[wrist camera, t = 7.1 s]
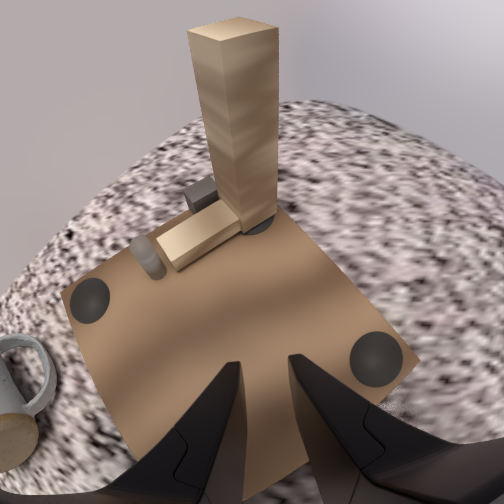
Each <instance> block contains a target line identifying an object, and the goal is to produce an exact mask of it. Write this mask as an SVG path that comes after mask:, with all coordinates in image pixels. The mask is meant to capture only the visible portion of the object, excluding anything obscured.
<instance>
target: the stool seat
mask: <svg viewBox="0 0 504 504" xmlns="http://www.w3.org/2000/svg"><path fill="white" fill-rule="evenodd" d="M183 193H184V196H185V198H186V201H187V204H188V207H189V210H187V211H185V212H184V213H182V214H180V215H178V216H177V217H175V218H173V219H172V220H170V221H168V222H167V223H165V224H163V225H162V226H160V227H158V228H157V229H155V230H154V231H152V232H150V233H149V234H147V235H146V236H144V235H139V236H137V237H135V238H134V239H133V240H132V241H131V242H130V245H129V246H128V247H126V248H125V249H123V250H122V251H120V252H119V253H117V254H116V255H114V256H113V257H111V258H110V259H108V260H107V261H105V262H104V263H102V264H101V265H99V266H98V267H96V268H95V269H93V270H92V271H90V272H89V273H87V274H86V275H84V276H83V277H81V278H80V279H78V280H77V281H76V282H74V283H73V284H71V285H70V286H68V287H67V288H66V289H64V290H63V291H61V292H60V293H61V297H62V300H63V303H64V306H65V309H66V312H67V315H68V318H69V321H70V324H71V327H72V330H73V333H74V335H75V338H76V341H77V343H78V346H79V348H80V351H81V353H82V356H83V358H84V361H85V363H86V365H87V368H88V370H89V372H90V375H91V377H92V379H93V381H94V383H95V386H96V388H97V390H98V392H99V394H100V396H101V398H102V400H103V402H104V404H105V406H106V408H107V410H108V412H109V414H110V416H111V418H112V419H113V421H114V423H115V425H116V427H117V429H118V430H119V432H120V434H121V436H122V437H123V439H124V441H125V442H126V444H127V446H128V447H129V449H130V451H131V452H132V454H133V455H134V457H135V459H136V460H137V461H139V460H140V459H141V458H142V457H143V456H144V455H146V454H147V453H148V452H149V451H150V450H151V449H152V448H153V447H154V446H155V445H156V444H157V443H158V442H159V441H160V440H161V439H162V438H163V437H164V436H165V435H166V434H167V433H168V431H169V430H170V429H171V428H172V427H174V425H175V423H176V422H177V421H178V420H179V419H180V418H181V417H182V415H183V414H184V413H185V412H186V411H187V410H188V408H189V407H190V406H191V405H192V404H193V402H194V401H195V400H196V399H197V398H198V397H199V395H200V394H201V393H202V392H203V391H204V389H205V388H206V387H207V386H208V384H209V383H210V382H211V381H212V380H213V378H214V377H215V376H216V375H217V374H218V372H219V371H220V370H221V369H222V367H223V366H224V365H225V364H226V363H227V362H232V361H240V362H241V366H242V372H243V378H244V385H245V397H246V411H247V426H248V431H247V447H246V461H245V474H244V487H243V500H242V502H243V501H245V500H247V499H249V498H251V497H252V496H254V495H256V494H258V493H260V492H261V491H263V490H265V489H266V488H268V487H270V486H271V485H273V484H275V483H276V482H278V481H279V480H281V479H283V478H284V477H286V476H287V475H289V474H290V473H292V472H293V471H295V470H296V469H298V468H299V467H301V466H302V465H304V464H305V463H307V462H308V461H309V458H308V456H307V453H306V450H305V447H304V444H303V441H302V438H301V435H300V432H299V429H298V425H297V422H296V417H295V412H294V406H293V400H292V395H291V389H290V383H289V374H288V356H289V355H293V354H299V353H301V354H303V355H304V356H306V357H307V358H308V359H310V360H311V361H313V362H314V363H315V364H317V365H318V366H320V367H321V368H322V369H324V370H325V371H327V372H328V373H329V374H331V375H332V376H334V377H335V378H336V379H338V380H339V381H341V382H342V383H344V384H345V385H347V386H348V387H349V388H351V389H352V390H354V391H355V392H357V393H358V394H360V395H361V396H363V397H364V398H366V399H367V400H369V401H370V402H371V403H373V404H375V405H376V406H377V405H378V404H379V403H380V402H381V401H382V400H383V399H384V398H385V397H386V396H387V395H388V394H389V393H390V392H391V391H392V390H393V389H394V388H395V387H396V386H397V385H398V384H399V383H400V382H401V381H402V380H403V379H404V378H405V377H406V376H407V375H408V374H409V373H410V372H411V371H412V369H413V368H414V367H415V366H416V365H417V364H418V363H419V362H420V359H419V358H418V357H417V356H416V355H415V353H414V352H413V351H412V350H411V349H410V347H409V346H408V345H407V344H406V343H405V342H404V340H403V339H402V338H401V337H400V336H399V334H398V333H397V332H396V331H395V330H394V329H393V328H392V326H391V325H390V324H389V323H388V322H387V321H386V319H385V318H384V317H383V316H382V315H381V314H380V313H379V312H378V310H377V309H376V308H375V307H374V306H373V305H372V304H371V303H370V301H369V300H368V299H367V298H366V297H365V296H364V295H363V294H362V293H361V291H360V290H359V289H358V288H357V287H356V286H355V285H354V284H353V283H352V282H351V280H350V279H349V278H348V277H347V276H346V275H345V274H344V273H343V272H342V271H341V270H340V269H339V267H338V266H337V265H336V264H335V263H334V262H333V261H332V260H331V259H330V258H329V257H328V256H327V255H326V254H325V253H324V252H323V251H322V249H321V248H320V247H319V246H318V245H317V244H316V243H315V242H314V241H313V240H312V239H311V238H310V237H309V236H308V235H307V234H306V233H305V232H304V231H303V230H302V229H301V228H300V227H299V226H298V225H297V224H296V223H295V222H294V221H293V220H292V219H291V218H290V217H289V216H288V215H287V213H286V212H285V211H284V210H283V209H282V208H281V207H280V206H279V205H278V204H277V213H275V214H274V215H272V216H271V217H269V218H267V219H266V220H264V221H263V222H261V223H259V224H258V225H256V226H255V227H253V228H252V229H250V230H248V231H247V232H245V233H243V232H242V231H239V232H237V233H236V234H234V235H233V236H231V237H230V238H228V239H226V240H225V241H223V242H222V243H220V244H219V245H217V246H216V247H214V248H212V249H211V250H209V251H208V252H206V253H205V254H203V255H202V256H200V257H198V258H197V259H195V260H194V261H192V262H191V263H189V264H188V265H186V266H185V267H183V268H181V269H180V270H178V271H176V270H175V268H174V267H173V265H172V264H171V262H170V260H169V259H168V257H167V256H166V254H165V253H164V251H163V250H162V248H161V246H160V244H159V243H158V241H157V239H156V238H158V237H159V236H161V235H162V234H164V233H166V232H167V231H169V230H170V229H172V228H174V227H175V226H177V225H178V224H180V223H182V222H183V221H185V220H187V219H188V218H190V217H191V216H193V215H195V214H196V213H198V212H200V211H201V210H203V209H205V208H206V207H208V206H210V205H211V204H213V203H215V202H217V201H218V200H219V196H218V191H217V187H216V182H215V181H214V180H213V179H212V178H211V177H210V176H207V177H205V178H204V179H202V180H200V181H198V182H196V183H194V184H193V185H191V186H189V187H187V188H185V189H184V190H183Z"/></svg>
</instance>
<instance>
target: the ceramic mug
mask: <svg viewBox="0 0 504 504" xmlns="http://www.w3.org/2000/svg"><path fill="white" fill-rule="evenodd" d="M20 346H29V347H33V348H34V349H35V350H36V351H37V353H38V354H39V356H40V358H41V360H42V362H43V371H44V372H45V382H44V384H43V386H42V389H41V390H40V392H39V393H38V394H37V395H36V396H35V397H34V399H32V400H31V401H30V402H29V403H28V404H27V403H26V401H25V400H24V398H23V396H22V395H21V394H20V392H19V390H18V389H17V387H16V385H15V383H14V381H13V379H12V377H11V375H10V373H9V371H8V369H7V367H6V365H5V362H4V361H3V359H2V357H1V354H2V353H3V352H5V351H7V350H10V349H12V348H15V347H20ZM56 384H57V376H56V369H55V365H54V363H53V361H52V359H51V357H50V356H49V354H48V353H47V351H46V350H45V348H44V346H43V345H42V344H41V343H40V342H39V341H38V340H37V339H36V338H34V337H32V336H30V335H27V334H21V333H15V334H9V335H5V336H2V337H0V473H3V472H6V471H9V470H11V469H13V468H15V467H17V466H18V465H20V464H21V463H23V462H24V461H25V460H26V459H27V458H28V457H29V456H30V455H31V454H32V452H33V451H34V449H35V447H36V445H37V442H38V437H39V430H38V426H37V424H36V422H35V419H34V415H35V414H37V413H38V412H40V411H41V410H43V409H44V408H45V407H46V405H47V404H48V402H49V401H50V400H51V398H52V396H53V394H54V392H55V389H56Z"/></svg>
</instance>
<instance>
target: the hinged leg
mask: <svg viewBox="0 0 504 504" xmlns="http://www.w3.org/2000/svg"><path fill="white" fill-rule="evenodd" d="M278 29H279V28H278V27H276V26H272V25H269V24H265V23H262V22H258V21H254V20H251V19H246V18H243V17H237V18H232V19H228V20H224V21H220V22H215V23H212V24H208V25H204V26H201V27H197V28H194V29H190V30H187V34H188V39H189V45H190V51H191V56H192V62H193V68H194V73H195V79H196V84H197V90H198V95H199V100H200V106H201V111H202V116H203V121H204V127H205V132H206V137H207V142H208V147H209V152H210V157H211V162H212V167H213V172H214V177H215V182H216V187H217V191H218V196H219V200H218V201H217V202H215V203H213V204H211V205H210V206H208V207H206V208H205V209H203V210H201V211H200V212H198V213H196V214H195V215H193V216H191V217H190V218H188V219H187V220H185V221H183V222H182V223H180V224H178V225H177V226H175V227H174V228H172V229H170V230H169V231H167V232H166V233H164V234H162V235H161V236H159V237H158V238H156V239H157V241H158V243H159V244H160V246H161V248H162V250H163V251H164V253H165V254H166V256H167V257H168V259H169V260H170V262H171V264H172V265H173V267H174V268H175V270H176V271H178V270H180V269H181V268H183V267H185V266H186V265H188V264H189V263H191V262H192V261H194V260H195V259H197V258H198V257H200V256H202V255H203V254H205V253H206V252H208V251H209V250H211V249H212V248H214V247H216V246H217V245H219V244H220V243H222V242H223V241H225V240H226V239H228V238H230V237H231V236H233V235H234V234H236V233H237V232H239V231H242V232H243V233H245V232H247V231H248V230H250V229H252V228H253V227H255V226H256V225H258V224H259V223H261V222H263V221H264V220H266V219H267V218H269V217H271V216H272V215H274V214H275V213H277V177H278V118H279V33H278V32H279V30H278Z"/></svg>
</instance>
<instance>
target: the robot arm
mask: <svg viewBox="0 0 504 504" xmlns="http://www.w3.org/2000/svg"><path fill="white" fill-rule="evenodd" d="M288 374H289V383H290V389H291V395H292V400H293V406H294V412H295V417H296V422H297V425H298V429H299V432H300V435H301V438H302V441H303V444H304V447H305V450H306V453H307V456H308V458H309V461H310V464H311V467H312V470H313V473H314V476H315V479H316V482H317V485H318V488H319V491H320V494H321V497H322V500H323V502H324V504H504V437H503V438H499V439H494V440H489V441H483V442H478V443H471V444H456V443H451V442H448V441H445V440H443V439H440V438H438V437H436V436H433V435H431V434H429V433H427V432H425V431H422V430H420V429H418V428H416V427H414V426H412V425H409V424H407V423H405V422H404V421H402V420H400V419H398V418H396V417H394V416H392V415H391V414H389V413H387V412H386V411H384V410H382V409H381V408H379V407H378V406H376V405H375V404H373V403H371V402H370V401H369V400H367V399H366V398H364V397H363V396H361V395H360V394H358V393H357V392H355V391H354V390H352V389H351V388H349V387H348V386H347V385H345V384H344V383H342V382H341V381H339V380H338V379H336V378H335V377H334V376H332V375H331V374H329V373H328V372H327V371H325V370H324V369H322V368H321V367H320V366H318V365H317V364H315V363H314V362H313V361H311V360H310V359H308V358H307V357H306V356H304V355H303V354H301V353H299V354H293V355H289V356H288ZM247 431H248V426H247V411H246V397H245V385H244V378H243V372H242V366H241V362H240V361H232V362H227V363H226V364H225V365H224V366H223V367H222V369H221V370H220V371H219V372H218V374H217V375H216V376H215V377H214V378H213V380H212V381H211V382H210V383H209V384H208V386H207V387H206V388H205V389H204V391H203V392H202V393H201V394H200V395H199V397H198V398H197V399H196V400H195V401H194V402H193V404H192V405H191V406H190V407H189V408H188V410H187V411H186V412H185V413H184V414H183V415H182V417H181V418H180V419H179V420H178V421H177V422H176V423H175V425H174V427H172V428H171V429H170V430H169V431H168V433H167V434H166V435H165V436H164V437H163V438H162V439H161V440H160V441H159V442H158V443H157V444H156V445H155V446H154V447H153V448H152V449H151V450H150V451H149V452H148V453H147V454H146V455H144V456H143V457H142V458H141V459H140V460H139V461H137V462H136V463H135V464H134V465H133V466H131V467H130V468H129V469H128V470H127V471H125V472H124V473H123V474H122V475H120V476H119V477H118V478H117V479H115V480H114V481H113V482H111V483H110V484H109V485H107V486H105V487H103V488H101V489H99V490H96V491H92V492H85V493H74V494H59V495H20V494H13V493H9V492H6V491H3V490H1V489H0V504H242V500H243V487H244V474H245V461H246V447H247Z"/></svg>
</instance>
